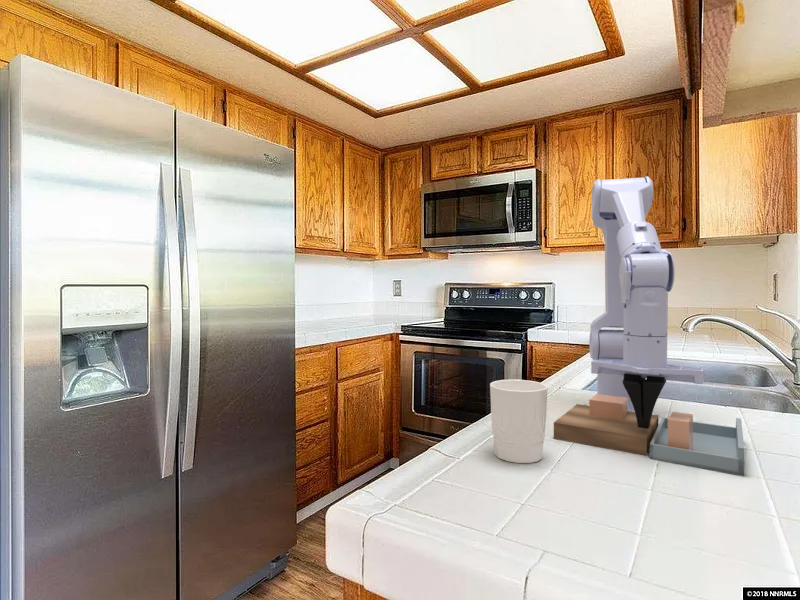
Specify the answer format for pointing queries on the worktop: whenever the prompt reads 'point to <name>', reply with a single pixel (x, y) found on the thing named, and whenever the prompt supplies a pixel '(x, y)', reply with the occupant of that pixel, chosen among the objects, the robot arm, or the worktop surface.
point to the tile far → (608, 406)
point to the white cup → (518, 419)
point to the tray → (704, 447)
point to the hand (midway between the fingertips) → (643, 426)
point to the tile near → (680, 430)
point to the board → (605, 430)
